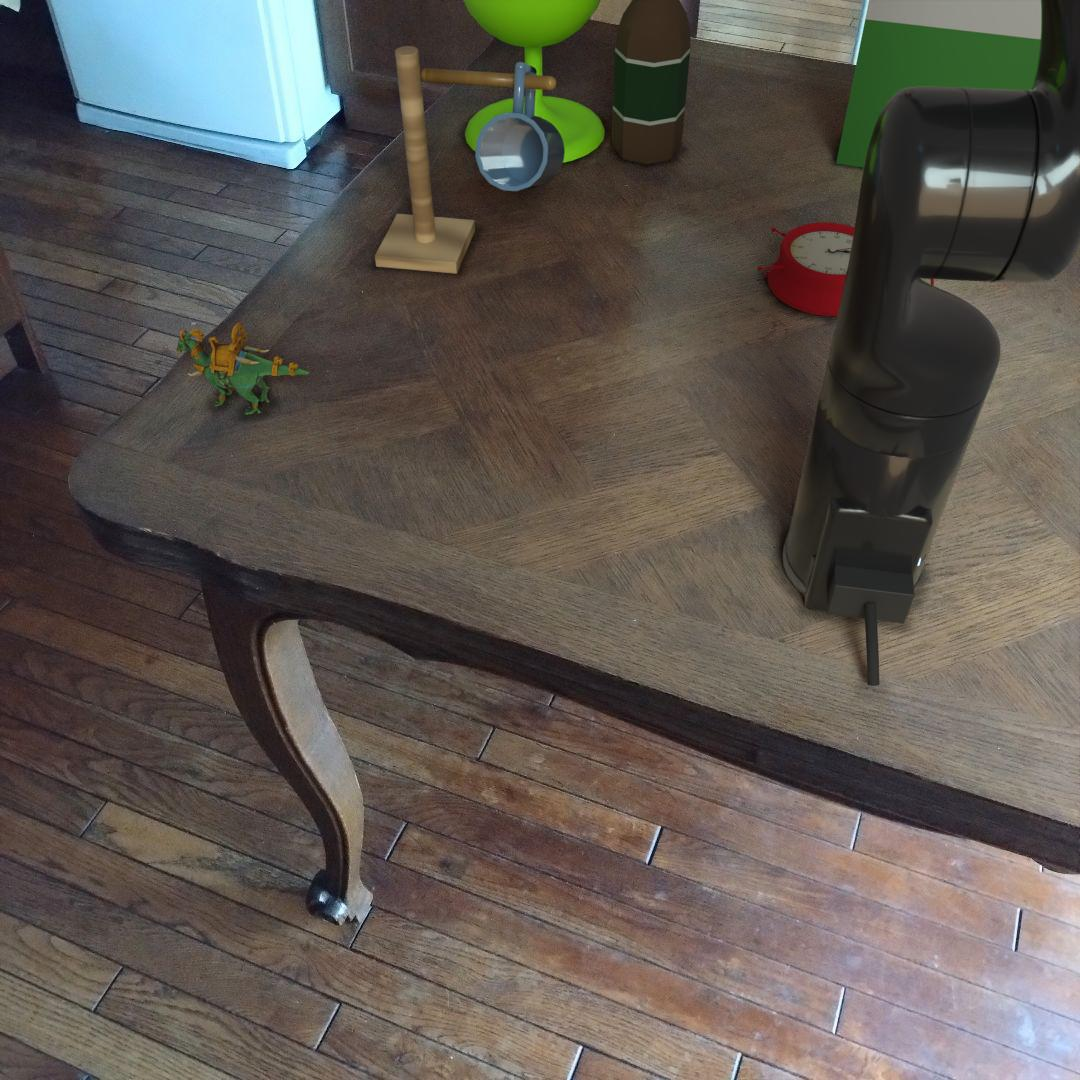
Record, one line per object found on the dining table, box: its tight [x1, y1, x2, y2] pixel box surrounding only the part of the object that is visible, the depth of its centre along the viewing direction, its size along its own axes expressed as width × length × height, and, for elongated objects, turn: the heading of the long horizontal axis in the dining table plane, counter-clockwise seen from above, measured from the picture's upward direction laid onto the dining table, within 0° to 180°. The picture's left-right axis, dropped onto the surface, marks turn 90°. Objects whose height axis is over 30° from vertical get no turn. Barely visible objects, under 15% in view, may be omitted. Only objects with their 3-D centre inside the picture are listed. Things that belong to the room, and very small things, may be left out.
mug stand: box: [374, 45, 557, 274], centre depth 97 cm, size 8×17×19 cm, turn 80°
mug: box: [475, 61, 564, 192], centre depth 93 cm, size 10×6×10 cm
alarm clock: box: [757, 221, 935, 317], centre depth 96 cm, size 10×6×15 cm
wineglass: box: [462, 0, 606, 163], centre depth 114 cm, size 16×16×18 cm
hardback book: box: [835, 0, 1041, 169], centre depth 107 cm, size 18×7×24 cm, turn 70°
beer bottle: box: [611, 0, 692, 165], centre depth 109 cm, size 8×8×24 cm
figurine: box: [175, 322, 310, 416], centre depth 85 cm, size 3×12×8 cm, turn 72°
